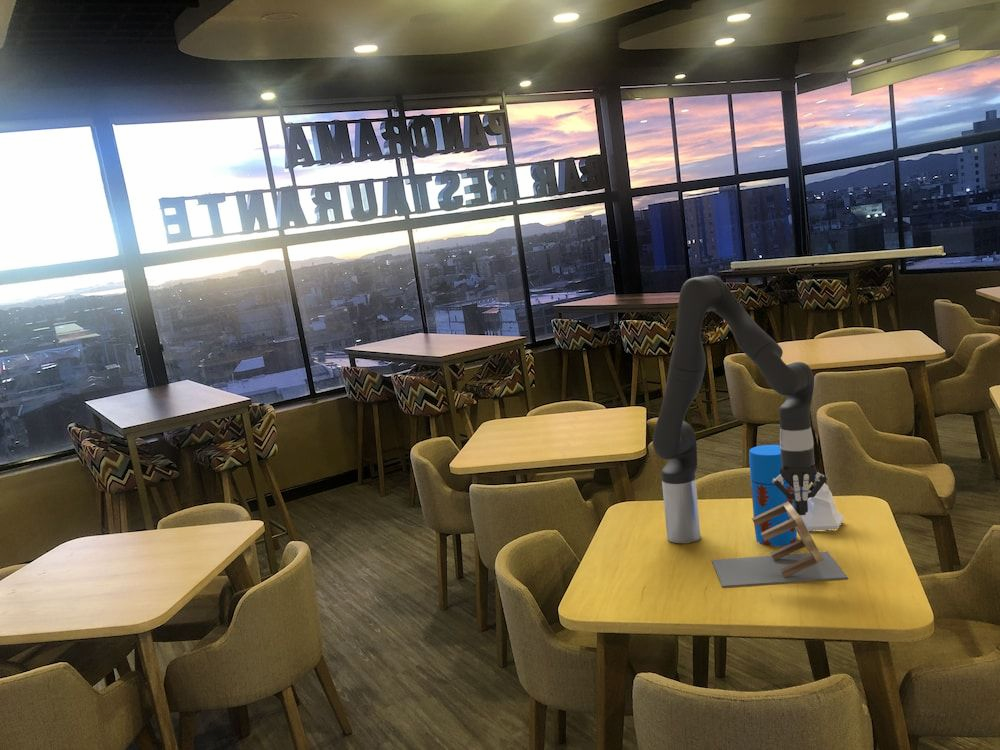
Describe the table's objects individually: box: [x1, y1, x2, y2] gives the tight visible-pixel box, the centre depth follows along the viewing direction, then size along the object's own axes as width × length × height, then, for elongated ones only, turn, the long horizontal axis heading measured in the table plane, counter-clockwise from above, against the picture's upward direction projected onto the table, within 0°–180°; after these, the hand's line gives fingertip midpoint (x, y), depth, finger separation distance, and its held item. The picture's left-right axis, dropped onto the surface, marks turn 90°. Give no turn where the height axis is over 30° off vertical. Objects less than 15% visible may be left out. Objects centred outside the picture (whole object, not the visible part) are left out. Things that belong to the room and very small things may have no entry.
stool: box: [751, 501, 823, 578], centre depth 198 cm, size 12×10×12 cm
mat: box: [711, 551, 849, 588], centre depth 199 cm, size 16×29×1 cm, turn 84°
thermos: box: [748, 444, 798, 547], centre depth 217 cm, size 11×11×25 cm
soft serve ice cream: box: [800, 482, 845, 531], centre depth 224 cm, size 12×15×14 cm
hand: (801, 514), depth 197 cm, fingers closed
